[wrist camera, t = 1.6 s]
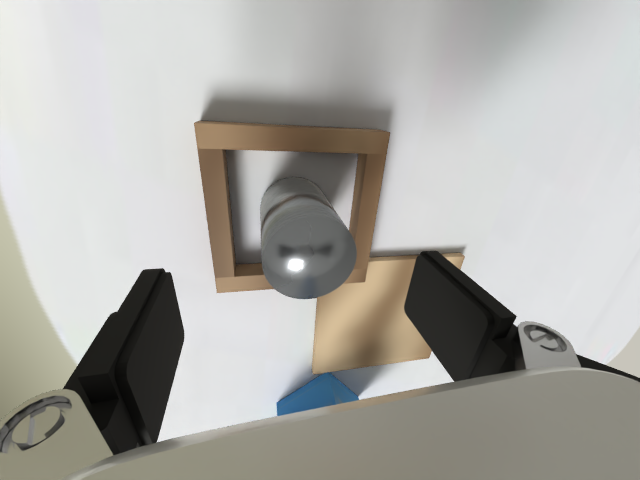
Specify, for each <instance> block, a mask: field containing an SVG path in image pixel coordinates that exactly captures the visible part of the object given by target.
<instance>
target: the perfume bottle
mask: <svg viewBox="0 0 640 480" xmlns="http://www.w3.org/2000/svg"><path fill="white" fill-rule="evenodd" d="M357 400H359V398H358V396H357V395H355V394H354V393H353V392H352V391H351V390H350V389H348V388H347V387H346V386H345V385H344V384H342V383H341V382H340V381H339V380H338V379H337V378H335V377H334V376H333V375H332V374H331V373H330V372H327V373H323V374H322V375H320V376H318V377H317V378H315V379H314V380H312V381H311V382H309V383H307V384H306V385H304V386H303V387H301V388H299V389H298V390H296V391H295V392H293V393H292V394H290V395H288V396H287V397H285V398H284V399H282V400H281V401H279V402H277V416H281V415H286V414H291V413H296V412H301V411H306V410H311V409H316V408H321V407H326V406H331V405H337V404H342V403H347V402H352V401H357Z"/></svg>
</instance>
